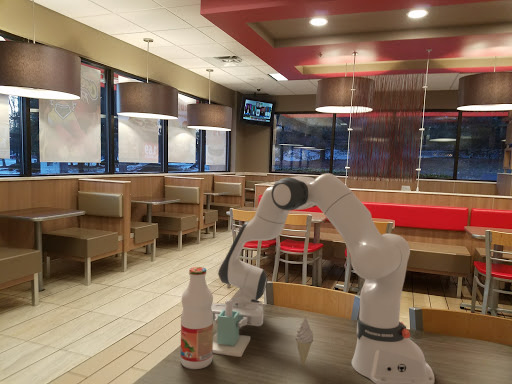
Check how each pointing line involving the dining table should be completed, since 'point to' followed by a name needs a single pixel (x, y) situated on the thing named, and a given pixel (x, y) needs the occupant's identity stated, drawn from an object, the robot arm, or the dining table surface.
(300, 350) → the ice cream cone
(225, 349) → the post stand
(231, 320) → the sleeve
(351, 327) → the dining table surface
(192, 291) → the fruit juice
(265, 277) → the robot arm
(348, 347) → the dining table surface
